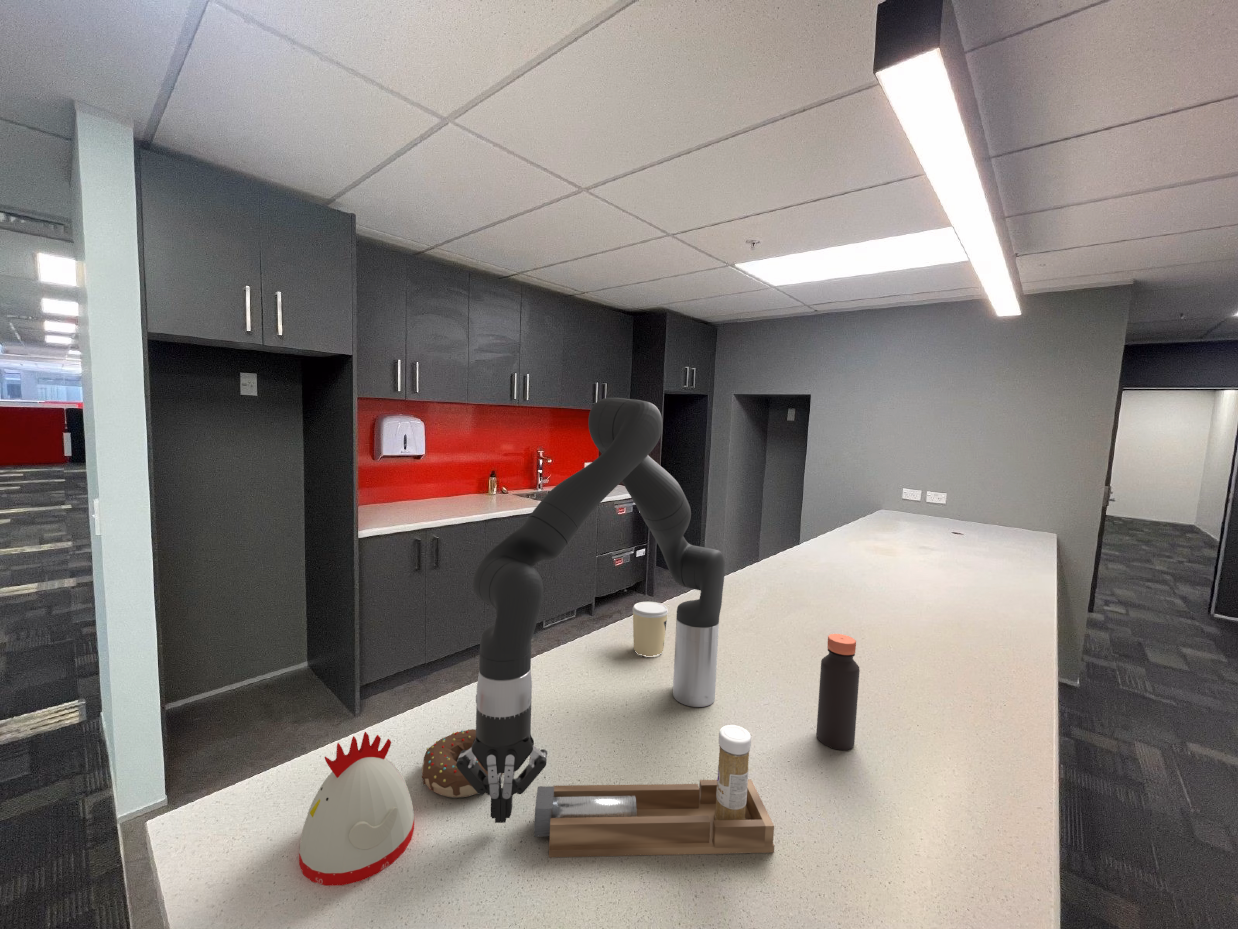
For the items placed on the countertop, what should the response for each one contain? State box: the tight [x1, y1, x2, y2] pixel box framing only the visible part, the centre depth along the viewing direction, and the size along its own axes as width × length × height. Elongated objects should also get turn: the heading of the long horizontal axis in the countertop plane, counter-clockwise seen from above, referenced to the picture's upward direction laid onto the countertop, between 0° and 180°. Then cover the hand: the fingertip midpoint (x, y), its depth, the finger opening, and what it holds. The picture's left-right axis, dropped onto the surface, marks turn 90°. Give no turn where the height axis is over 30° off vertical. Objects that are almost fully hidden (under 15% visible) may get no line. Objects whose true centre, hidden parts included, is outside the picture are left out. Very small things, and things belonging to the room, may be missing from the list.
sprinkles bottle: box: [715, 724, 752, 820], centre depth 74 cm, size 5×5×13 cm
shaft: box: [533, 785, 637, 837], centre depth 72 cm, size 4×14×4 cm, turn 94°
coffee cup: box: [632, 601, 669, 656], centre depth 133 cm, size 9×9×12 cm
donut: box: [421, 728, 504, 799], centre depth 83 cm, size 14×14×5 cm
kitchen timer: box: [298, 731, 415, 886], centre depth 69 cm, size 14×14×15 cm
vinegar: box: [816, 633, 860, 751], centre depth 96 cm, size 7×7×20 cm
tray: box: [548, 778, 775, 858], centre depth 73 cm, size 9×31×4 cm, turn 94°
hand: (501, 818), depth 71 cm, fingers closed
